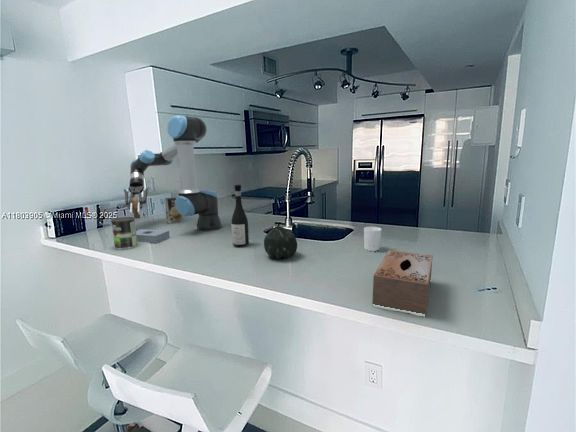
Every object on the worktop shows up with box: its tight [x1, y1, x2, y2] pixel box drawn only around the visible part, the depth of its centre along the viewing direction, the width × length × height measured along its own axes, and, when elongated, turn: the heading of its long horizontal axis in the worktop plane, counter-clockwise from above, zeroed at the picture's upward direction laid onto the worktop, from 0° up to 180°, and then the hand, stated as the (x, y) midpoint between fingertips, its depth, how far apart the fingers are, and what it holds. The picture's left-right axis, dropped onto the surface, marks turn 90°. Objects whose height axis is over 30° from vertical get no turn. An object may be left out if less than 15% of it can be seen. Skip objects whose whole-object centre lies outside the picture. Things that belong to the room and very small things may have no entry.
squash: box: [263, 225, 298, 260], centre depth 135 cm, size 14×15×15 cm
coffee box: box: [164, 196, 184, 224], centre depth 207 cm, size 9×6×16 cm
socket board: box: [136, 228, 170, 244], centre depth 166 cm, size 18×11×4 cm, turn 76°
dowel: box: [131, 196, 141, 220], centre depth 177 cm, size 3×3×12 cm
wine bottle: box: [230, 184, 250, 248], centre depth 150 cm, size 8×8×30 cm
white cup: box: [363, 226, 382, 250], centre depth 142 cm, size 8×8×10 cm
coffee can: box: [110, 216, 138, 251], centre depth 153 cm, size 10×10×14 cm
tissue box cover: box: [371, 249, 433, 315], centre depth 98 cm, size 26×14×10 cm, turn 153°
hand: (135, 213), depth 174 cm, fingers closed on dowel, 3 cm apart
